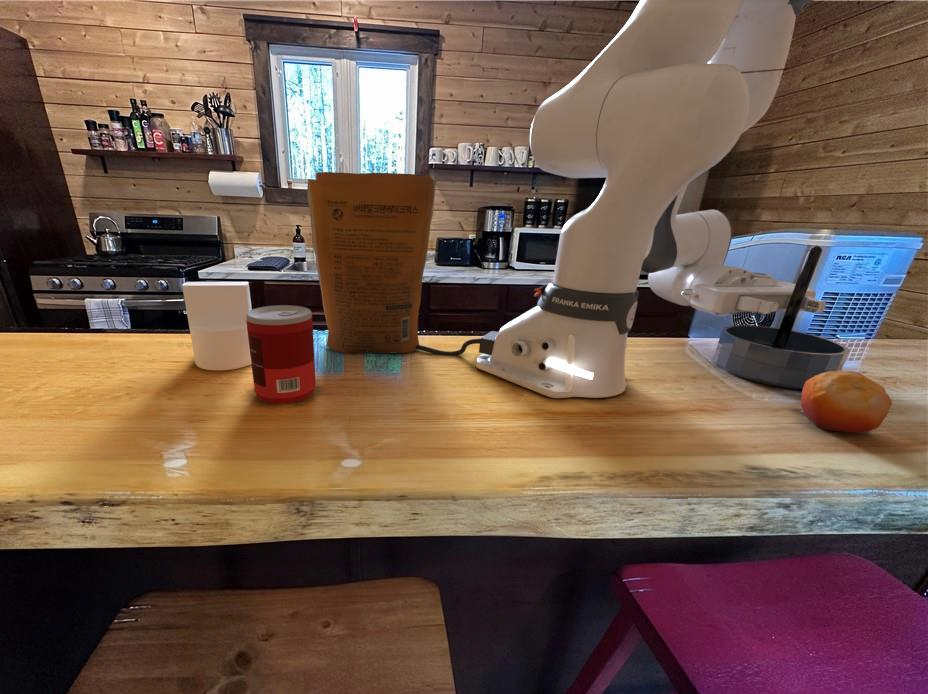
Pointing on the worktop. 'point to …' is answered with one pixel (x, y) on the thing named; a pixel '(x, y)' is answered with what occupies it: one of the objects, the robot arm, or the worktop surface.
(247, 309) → the base with upright slab
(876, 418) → the fruit
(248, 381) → the worktop surface
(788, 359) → the bowl
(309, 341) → the canned food
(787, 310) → the long black rod
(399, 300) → the pancake mix bag
